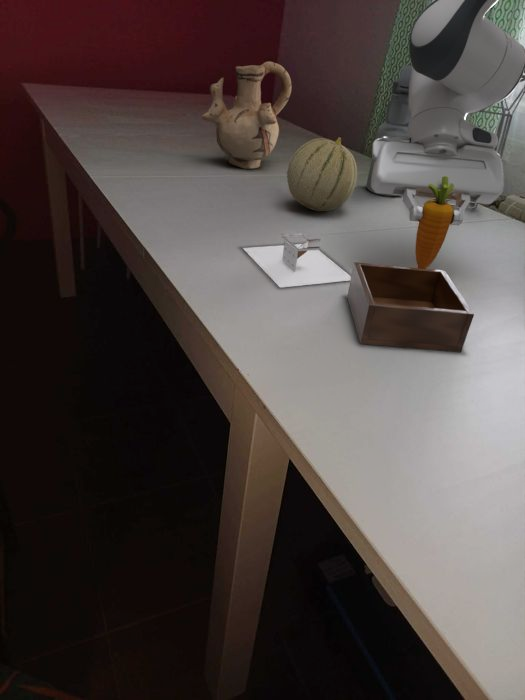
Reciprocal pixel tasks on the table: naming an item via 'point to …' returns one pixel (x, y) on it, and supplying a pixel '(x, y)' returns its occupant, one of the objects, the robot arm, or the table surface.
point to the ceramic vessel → (248, 115)
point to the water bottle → (395, 115)
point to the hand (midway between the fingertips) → (436, 221)
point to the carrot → (433, 225)
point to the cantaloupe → (322, 174)
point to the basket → (408, 308)
